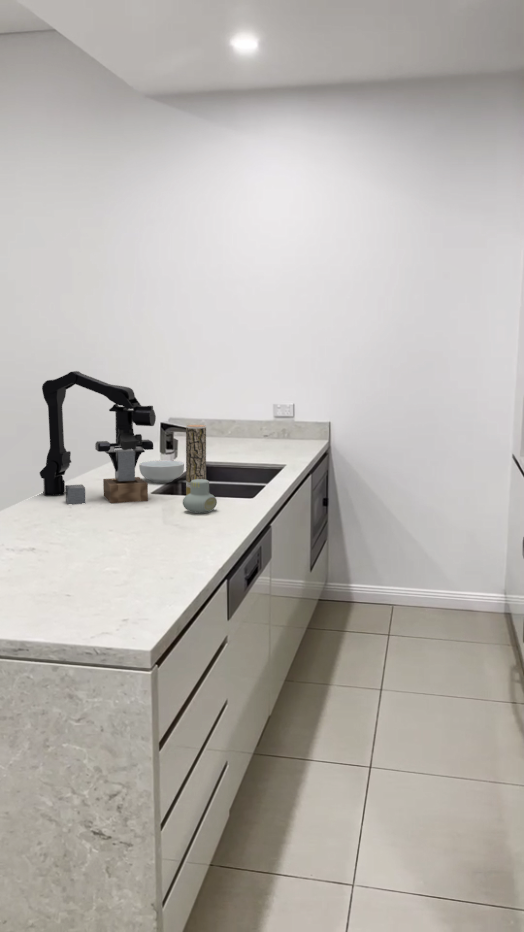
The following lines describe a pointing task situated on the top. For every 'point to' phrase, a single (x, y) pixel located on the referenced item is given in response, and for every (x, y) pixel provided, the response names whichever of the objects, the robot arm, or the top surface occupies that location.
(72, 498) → the gray cube
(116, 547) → the top surface
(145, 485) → the brown wooden open box
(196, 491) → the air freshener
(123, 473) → the grey rectangular block
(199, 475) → the bark textured wooden post
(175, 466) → the cereal bowl
